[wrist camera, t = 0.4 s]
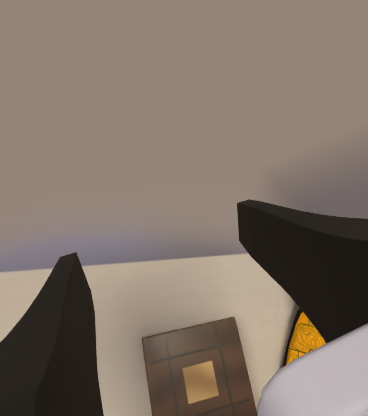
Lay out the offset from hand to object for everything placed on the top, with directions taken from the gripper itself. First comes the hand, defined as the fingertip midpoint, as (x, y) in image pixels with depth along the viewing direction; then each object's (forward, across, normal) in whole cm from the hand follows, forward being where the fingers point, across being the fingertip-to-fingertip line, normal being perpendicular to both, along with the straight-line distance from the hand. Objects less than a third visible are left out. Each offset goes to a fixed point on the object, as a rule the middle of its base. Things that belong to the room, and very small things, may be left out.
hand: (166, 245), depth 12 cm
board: (+12, -3, +30) cm, 33 cm away
